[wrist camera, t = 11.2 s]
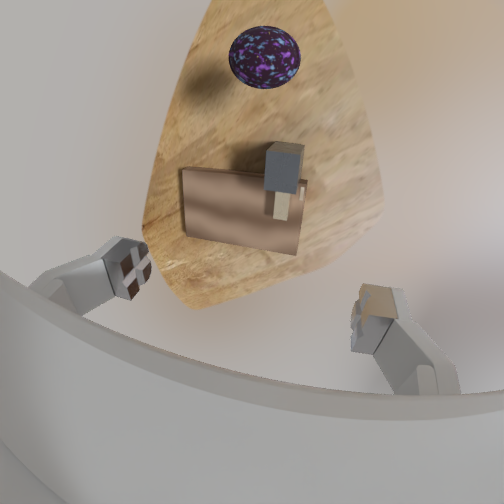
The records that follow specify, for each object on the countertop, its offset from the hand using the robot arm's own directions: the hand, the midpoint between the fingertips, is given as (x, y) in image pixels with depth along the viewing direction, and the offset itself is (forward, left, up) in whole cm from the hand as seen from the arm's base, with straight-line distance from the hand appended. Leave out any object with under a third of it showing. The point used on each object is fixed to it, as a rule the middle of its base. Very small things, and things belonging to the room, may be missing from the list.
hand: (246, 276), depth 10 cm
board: (+12, -8, -31) cm, 34 cm away
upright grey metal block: (+6, -2, -31) cm, 31 cm away
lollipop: (-10, -4, -31) cm, 33 cm away
